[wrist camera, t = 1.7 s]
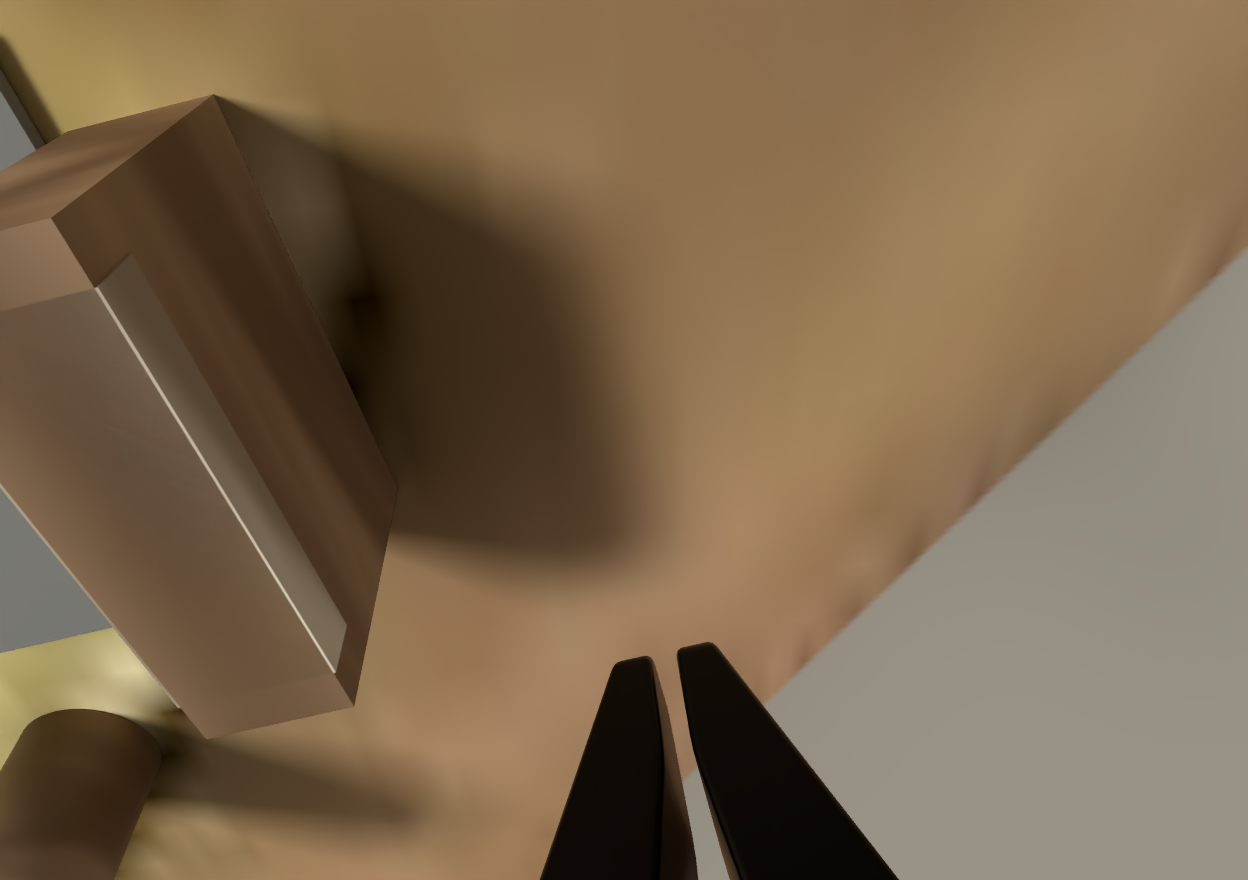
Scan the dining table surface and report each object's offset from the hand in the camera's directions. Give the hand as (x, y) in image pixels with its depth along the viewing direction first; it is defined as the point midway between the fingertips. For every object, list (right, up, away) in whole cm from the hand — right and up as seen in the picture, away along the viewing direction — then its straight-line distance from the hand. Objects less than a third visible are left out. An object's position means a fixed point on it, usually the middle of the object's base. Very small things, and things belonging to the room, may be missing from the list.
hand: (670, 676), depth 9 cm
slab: (-9, +5, +10) cm, 15 cm away
